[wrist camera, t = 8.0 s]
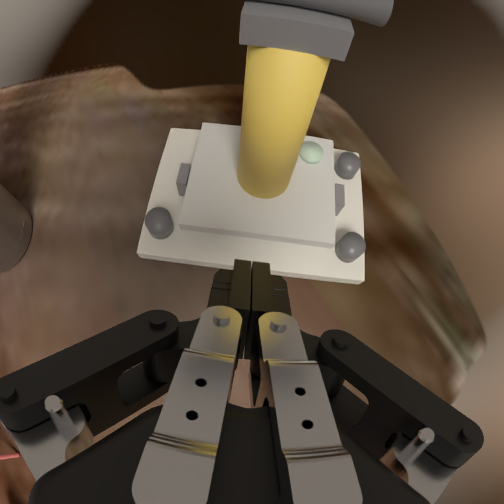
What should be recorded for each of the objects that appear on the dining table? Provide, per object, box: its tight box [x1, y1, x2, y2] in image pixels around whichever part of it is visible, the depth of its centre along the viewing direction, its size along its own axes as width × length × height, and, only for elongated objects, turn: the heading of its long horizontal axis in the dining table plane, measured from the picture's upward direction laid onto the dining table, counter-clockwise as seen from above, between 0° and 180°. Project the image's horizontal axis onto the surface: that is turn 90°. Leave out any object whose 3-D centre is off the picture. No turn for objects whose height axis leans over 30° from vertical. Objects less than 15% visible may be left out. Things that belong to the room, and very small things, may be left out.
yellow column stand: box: [179, 0, 394, 248], centre depth 21 cm, size 14×12×22 cm
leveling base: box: [137, 128, 366, 284], centre depth 33 cm, size 23×16×4 cm
